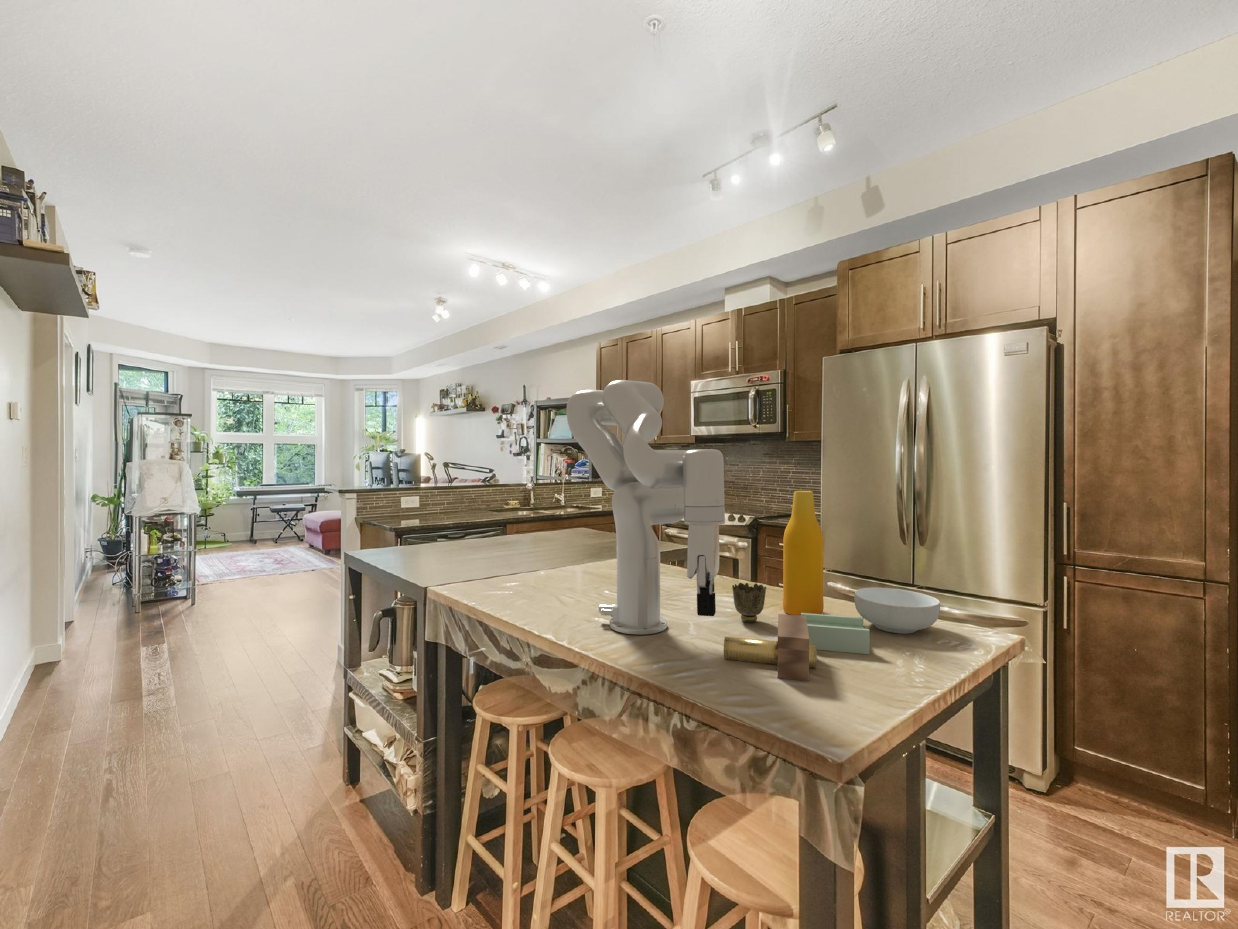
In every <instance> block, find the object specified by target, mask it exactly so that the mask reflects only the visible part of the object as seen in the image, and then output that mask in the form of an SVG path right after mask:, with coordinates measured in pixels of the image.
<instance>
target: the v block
mask: <svg viewBox="0 0 1238 929" xmlns="http://www.w3.org/2000/svg"><path fill="white" fill-rule="evenodd" d="M801 616H806V621H807V628H808V634H809V644H813V645H816V649H817V651H830V652H840V653H849V654H850V653H851V654H859V655H860V654H862V655H870V636H871V635H870V628H865V627H864V622H865V619H864V618H863V617H862V616H860V617H859V616H846V615H834V614H823V613H822V614H810V613H801Z"/></svg>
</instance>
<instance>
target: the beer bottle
mask: <svg viewBox="0 0 1238 929" xmlns="http://www.w3.org/2000/svg"><path fill="white" fill-rule="evenodd" d="M813 492H814V491H810V490H795V491H794V492H793V499H792V500H793V501H792V509H791V516H790V518H789V521H788V523H787V525H786V527H785V529H784V533H783V540H782V542H783V543H782V544H783V550H782V552H783V554H782V555H783V560H782V561H783V563H782V564H783V565H782V566H783V568H782V570H783V571H782V573H783V576H782V577H783V578H782V582H783V584H782V588H783V589H782V592H783V593H782V609H783V611H784V612H785V613H786V615H799V616H801V613H810V614H823V613H824V552H825V551H824V549H825V548H824V544H825V542H824V534H823V531H822V528H821V526H820V523H819V522H818V519H817V517H816V508H815V501H814V500H815V499H814V493H813Z"/></svg>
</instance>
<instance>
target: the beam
mask: <svg viewBox="0 0 1238 929" xmlns="http://www.w3.org/2000/svg"><path fill="white" fill-rule="evenodd" d="M777 615H778V616H777V617H778V618H777V619H778V620H777V641H778V664H777V678H778V679H787V680H795V681H796V680H797V681H804V682H805V681H806V682H809V681H810V668H809V634H808V628H807V621H806V616H799V615H789V614H787V613H786V614H783V613H778V614H777Z"/></svg>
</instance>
